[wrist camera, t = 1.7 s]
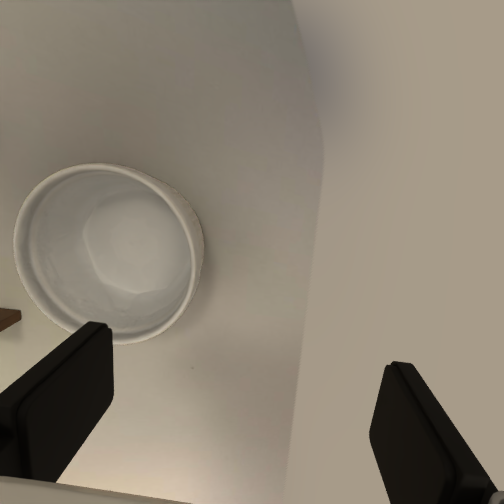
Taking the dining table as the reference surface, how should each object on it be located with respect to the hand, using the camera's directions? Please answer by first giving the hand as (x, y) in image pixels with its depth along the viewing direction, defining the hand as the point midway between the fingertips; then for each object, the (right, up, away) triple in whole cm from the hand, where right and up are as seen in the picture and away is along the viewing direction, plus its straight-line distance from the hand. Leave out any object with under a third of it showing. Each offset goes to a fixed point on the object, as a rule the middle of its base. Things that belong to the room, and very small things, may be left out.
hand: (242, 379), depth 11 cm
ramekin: (-9, +5, +18) cm, 21 cm away
